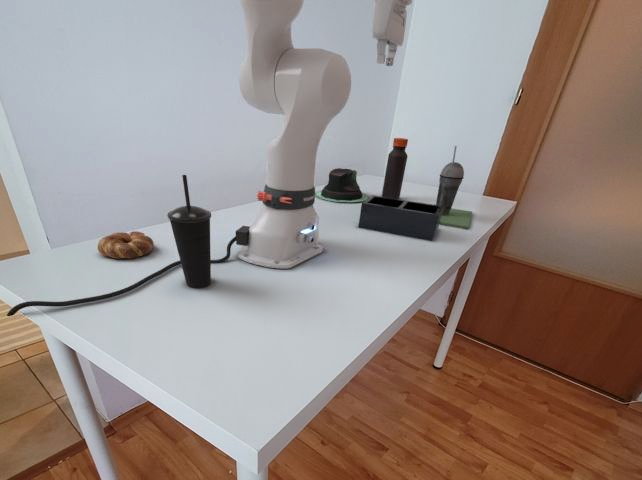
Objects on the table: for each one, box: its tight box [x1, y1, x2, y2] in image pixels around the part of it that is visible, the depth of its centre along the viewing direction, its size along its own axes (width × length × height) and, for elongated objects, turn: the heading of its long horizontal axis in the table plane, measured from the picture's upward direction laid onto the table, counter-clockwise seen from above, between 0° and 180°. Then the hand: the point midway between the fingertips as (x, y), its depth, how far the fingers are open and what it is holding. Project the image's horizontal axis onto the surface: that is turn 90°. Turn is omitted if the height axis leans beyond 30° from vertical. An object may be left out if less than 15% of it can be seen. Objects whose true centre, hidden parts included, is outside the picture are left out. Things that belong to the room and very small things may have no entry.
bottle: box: [381, 137, 409, 199], centre depth 133 cm, size 7×7×20 cm
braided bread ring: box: [97, 230, 155, 260], centre depth 83 cm, size 12×11×4 cm
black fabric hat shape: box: [315, 167, 369, 203], centre depth 136 cm, size 15×19×20 cm
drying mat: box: [439, 207, 473, 230], centre depth 122 cm, size 20×18×1 cm
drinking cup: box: [166, 174, 212, 289], centre depth 67 cm, size 8×8×20 cm
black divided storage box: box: [357, 195, 444, 242], centre depth 107 cm, size 11×22×7 cm, turn 65°
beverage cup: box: [435, 145, 465, 216], centre depth 116 cm, size 7×7×20 cm
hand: (384, 64), depth 98 cm, fingers open, 8 cm apart
